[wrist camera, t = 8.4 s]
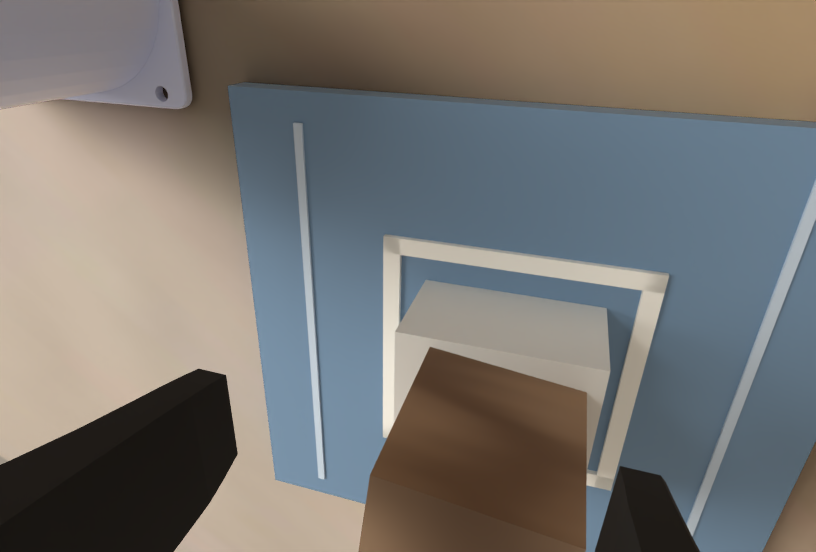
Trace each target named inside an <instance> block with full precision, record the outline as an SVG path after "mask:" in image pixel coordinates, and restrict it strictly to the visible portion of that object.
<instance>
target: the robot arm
mask: <svg viewBox="0 0 816 552" xmlns="http://www.w3.org/2000/svg"><path fill="white" fill-rule="evenodd" d="M163 87H164V88H165V89H166V90H167V93H168V99H167V98H166V97H165V96H164V94H163ZM57 99H64V100H76V101H87V102H99V103H110V104H122V105H133V106H145V107H157V108H168V109H182V108H186V107H188V106H189V105H190V104H191V101H192V90H191V84H190V77H189V70H188V64H187V57H186V51H185V44H184V37H183V31H182V24H181V18H180V11H179V4H178V0H0V109H6V108H11V107H17V106H23V105H29V104H34V103H40V102H46V101H51V100H57ZM237 454H238V453H237V447H236V440H235V433H234V426H233V420H232V413H231V406H230V399H229V392H228V386H227V379H226V375H223V374H219V373H215V372H210V371H206V370H202V369H197V370H195V371H193V372H190V373H188V374H186V375H184V376H182V377H180V378H177V379H175V380H173V381H171V382H169V383H167V384H165V385H163V386H161V387H159V388H157V389H155V390H154V391H152V392H150V393H148V394H146V395H144V396H142V397H140V398H138V399H136V400H134V401H132V402H130V403H128V404H126V405H124V406H122V407H120V408H118V409H116V410H114V411H112V412H110V413H108V414H106V415H104V416H103V417H101V418H99V419H97V420H95V421H93V422H91V423H89V424H87V425H85V426H83V427H81V428H79V429H77V430H75V431H72V432H70V433H68V434H66V435H64V436H62V437H60V438H58V439H55V440H53V441H51V442H49V443H47V444H45V445H43V446H40V447H38V448H36V449H34V450H32V451H30V452H28V453H25V454H23V455H21V456H19V457H17V458H15V459H13V460H11V461H8V462H6V463H4V464H1V465H0V552H174V550H175V549H176V548H177V546H178V545H179V544H180V542H181V541H182V540H183V538H184V537H185V536H186V534H187V533H188V532H189V530H190V529H191V528H192V526H193V525H194V524H195V522H196V521H197V519H198V518H199V517H200V515H201V514H202V513H203V511H204V510H205V509H206V507H207V506H208V504H209V503H210V501H211V500H212V498H213V496H214V495H215V493H216V491H217V490H218V488H219V486H220V485H221V483H222V481H223V480H224V478H225V476H226V474H227V472H228V471H229V469H230V467H231V465H232V463H233V461H234V460H235V458H236V456H237ZM595 552H700V551H699V549H698V547H697V545H696V543H695V541H694V539H693V537H692V535H691V533H690V531H689V529H688V527H687V525H686V523H685V521H684V519H683V517H682V515H681V513H680V511H679V509H678V507H677V505H676V503H675V501H674V499H673V496H672V494H671V492H670V490H669V488H668V486H667V484H666V482H665V480H664V479H663V478H662V476H661V475H657V474H653V473H649V472H644V471H640V470H636V469H631V468H627V467H623V466H620V467H619V471H618V474H617V478H616V481H615V484H614V488H613V491H612V494H611V498H610V501H609V505H608V508H607V511H606V515H605V518H604V521H603V525H602V528H601V531H600V535H599V538H598V542H597V545H596V548H595Z"/></svg>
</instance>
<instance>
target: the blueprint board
mask: <svg viewBox="0 0 816 552" xmlns="http://www.w3.org/2000/svg"><path fill="white" fill-rule="evenodd" d="M228 93H229V102H230V110H231V118H232V126H233V134H234V143H235V151H236V159H237V167H238V175H239V184H240V192H241V200H242V208H243V216H244V225H245V233H246V241H247V249H248V257H249V266H250V274H251V282H252V290H253V299H254V307H255V315H256V323H257V331H258V340H259V348H260V356H261V364H262V372H263V381H264V389H265V397H266V405H267V413H268V422H269V430H270V438H271V446H272V454H273V463H274V471H275V479H276V480H279V481H282V482H286V483H290V484H293V485H297V486H301V487H305V488H308V489H312V490H316V491H319V492H323V493H327V494H330V495H334V496H338V497H342V498H345V499H349V500H353V501H356V502H360V503H364V504H366V498H367V491H368V485H369V478H370V474H371V471H372V469H373V467H374V465H375V463H376V461H377V459H378V456H379V454H380V452H381V450H382V448H383V446H384V444H385V442H386V439H387V437H388V435H389V433H390V431H391V429H392V427H393V424H394V362H395V331H396V329H397V327H398V326H399V324H400V322H401V321H402V319H403V317H404V316H405V314H406V312H407V311H408V309H409V307H410V306H411V304H412V302H413V301H414V299H415V297H416V296H417V294H418V292H419V291H420V289H421V287H422V286H423V284H424V282H425V280H430V281H437V282H443V283H449V284H456V285H462V286H469V287H475V288H481V289H488V290H494V291H500V292H507V293H513V294H520V295H526V296H532V297H539V298H545V299H551V300H558V301H564V302H571V303H577V304H583V305H590V306H596V307H602V308H607V321H608V338H609V355H610V376H609V380H608V384H607V388H606V392H605V397H604V401H603V405H602V409H601V413H600V418H599V422H598V426H597V430H596V434H595V439H594V443H593V447H592V451H591V455H590V460H589V464H588V468H587V481H586V551H585V552H595V548H596V545H597V542H598V538H599V535H600V531H601V528H602V525H603V521H604V518H605V515H606V511H607V508H608V505H609V501H610V498H611V494H612V491H613V488H614V484H615V481H616V478H617V474H618V471H619V467H620V466H623V467H627V468H631V469H636V470H640V471H644V472H649V473H653V474H657V475H661V476H662V478H663V479H664V480H665V482H666V484H667V486H668V488H669V490H670V492H671V494H672V496H673V499H674V501H675V503H676V505H677V507H678V509H679V511H680V513H681V515H682V517H683V519H684V521H685V523H686V525H687V527H688V529H689V531H690V533H691V535H692V537H693V539H694V541H695V543H696V545H697V547H698V549H699V551H700V552H762V551H763V549H764V547H765V545H766V543H767V541H768V539H769V537H770V535H771V533H772V531H773V528H774V526H775V524H776V522H777V520H778V518H779V516H780V514H781V512H782V510H783V508H784V506H785V504H786V502H787V500H788V498H789V495H790V493H791V491H792V489H793V487H794V485H795V483H796V481H797V479H798V477H799V475H800V473H801V471H802V469H803V467H804V465H805V462H806V460H807V458H808V456H809V454H810V452H811V450H812V448H813V446H814V444H815V442H816V122H809V121H795V120H780V119H766V118H751V117H737V116H723V115H708V114H694V113H680V112H665V111H651V110H637V109H622V108H608V107H594V106H579V105H565V104H551V103H536V102H522V101H508V100H493V99H479V98H464V97H450V96H436V95H421V94H407V93H393V92H378V91H364V90H350V89H335V88H321V87H307V86H292V85H278V84H264V83H249V82H243V83H238V84H233V85H229V86H228Z"/></svg>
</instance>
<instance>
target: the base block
mask: <svg viewBox="0 0 816 552" xmlns="http://www.w3.org/2000/svg"><path fill="white" fill-rule="evenodd" d="M429 347H433V348H437V349H440V350H444V351H447V352H450V353H454V354H457V355H461V356H464V357H467V358H471V359H474V360H478V361H481V362H485V363H488V364H491V365H495V366H498V367H502V368H505V369H509V370H512V371H515V372H519V373H522V374H526V375H529V376H533V377H536V378H539V379H543V380H546V381H550V382H553V383H557V384H560V385H563V386H567V387H570V388H574V389H577V390H581V391H584V392H587V468H588V464H589V460H590V455H591V451H592V447H593V443H594V439H595V434H596V430H597V426H598V422H599V418H600V413H601V409H602V405H603V401H604V397H605V392H606V388H607V384H608V380H609V376H610V355H609V338H608V321H607V308H602V307H596V306H590V305H583V304H577V303H571V302H564V301H558V300H551V299H545V298H539V297H532V296H526V295H520V294H513V293H507V292H500V291H494V290H488V289H481V288H475V287H469V286H462V285H456V284H449V283H443V282H437V281H430V280H425V282H424V284H423V286H422V287H421V289H420V291H419V292H418V294H417V296H416V297H415V299H414V301H413V302H412V304H411V306H410V307H409V309H408V311H407V312H406V314H405V316H404V317H403V319H402V321H401V322H400V324H399V326H398V327H397V329H396V331H395V362H394V422H395V420H396V418H397V416H398V414H399V412H400V409H401V407H402V405H403V403H404V401H405V399H406V397H407V394H408V392H409V390H410V388H411V386H412V384H413V382H414V379H415V377H416V375H417V373H418V371H419V369H420V367H421V364H422V362H423V360H424V358H425V356H426V354H427V352H428V349H429Z"/></svg>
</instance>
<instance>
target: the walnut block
mask: <svg viewBox="0 0 816 552" xmlns="http://www.w3.org/2000/svg"><path fill="white" fill-rule="evenodd" d="M586 481H587V392H584V391H581V390H577V389H574V388H570V387H567V386H563V385H560V384H557V383H553V382H550V381H546V380H543V379H539V378H536V377H533V376H529V375H526V374H522V373H519V372H515V371H512V370H509V369H505V368H502V367H498V366H495V365H491V364H488V363H485V362H481V361H478V360H474V359H471V358H467V357H464V356H461V355H457V354H454V353H450V352H447V351H444V350H440V349H437V348H433V347H429V349H428V352H427V354H426V356H425V358H424V360H423V362H422V364H421V367H420V369H419V371H418V373H417V375H416V377H415V379H414V382H413V384H412V386H411V388H410V390H409V392H408V394H407V397H406V399H405V401H404V403H403V405H402V407H401V409H400V412H399V414H398V416H397V418H396V420H395V422H394V424H393V427H392V429H391V431H390V433H389V435H388V437H387V439H386V442H385V444H384V446H383V448H382V450H381V452H380V454H379V456H378V459H377V461H376V463H375V465H374V467H373V469H372V471H371V474H370V478H369V485H368V491H367V498H366V505H365V512H364V518H363V525H362V532H361V539H360V545H359V552H585V551H586Z"/></svg>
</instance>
